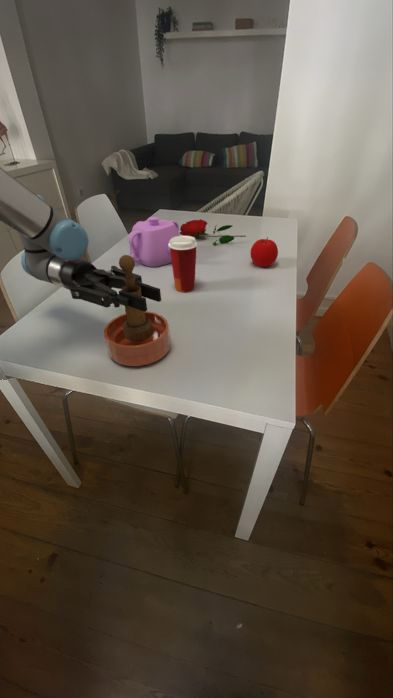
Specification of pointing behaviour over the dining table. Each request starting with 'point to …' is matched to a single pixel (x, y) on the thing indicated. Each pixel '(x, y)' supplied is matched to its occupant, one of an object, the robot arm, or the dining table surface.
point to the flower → (198, 228)
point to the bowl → (137, 350)
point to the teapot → (152, 241)
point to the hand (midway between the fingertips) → (152, 300)
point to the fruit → (264, 252)
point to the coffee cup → (183, 262)
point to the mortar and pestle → (136, 320)
